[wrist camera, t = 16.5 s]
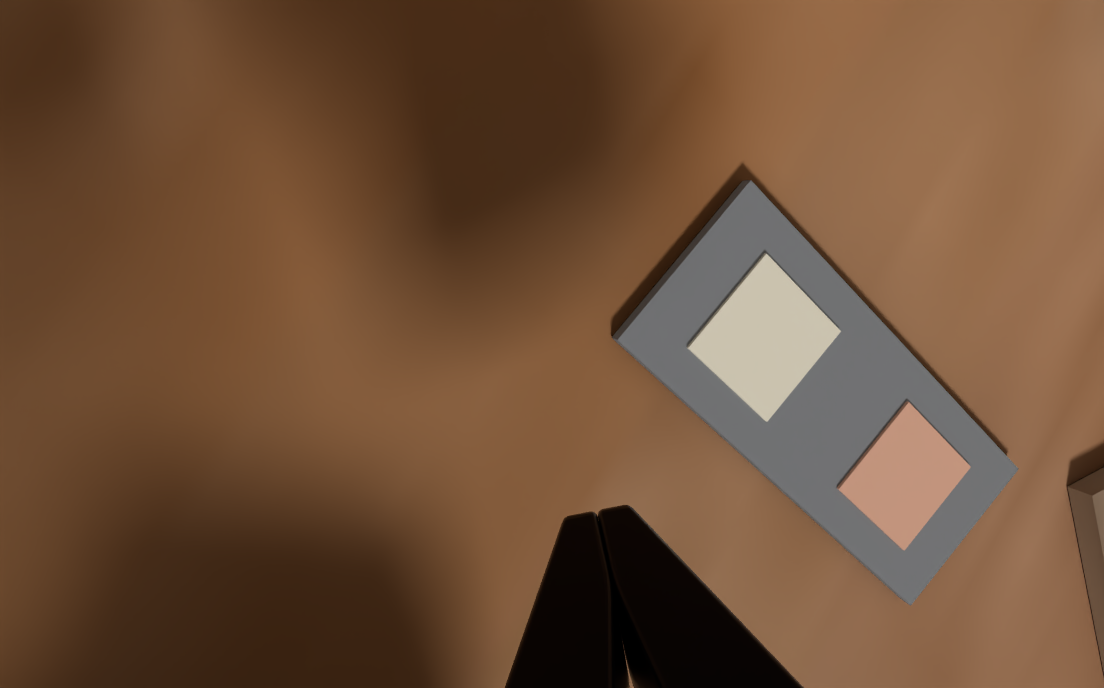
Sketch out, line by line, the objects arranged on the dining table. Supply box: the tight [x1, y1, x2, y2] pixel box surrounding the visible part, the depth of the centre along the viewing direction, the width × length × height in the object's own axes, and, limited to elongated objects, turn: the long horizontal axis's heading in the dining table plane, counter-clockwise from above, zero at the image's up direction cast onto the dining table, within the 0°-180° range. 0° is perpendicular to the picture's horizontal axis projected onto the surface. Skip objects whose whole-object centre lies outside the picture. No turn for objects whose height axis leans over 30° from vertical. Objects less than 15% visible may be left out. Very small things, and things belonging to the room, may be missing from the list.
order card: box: [612, 180, 1018, 605], centre depth 20 cm, size 5×12×1 cm, turn 48°
